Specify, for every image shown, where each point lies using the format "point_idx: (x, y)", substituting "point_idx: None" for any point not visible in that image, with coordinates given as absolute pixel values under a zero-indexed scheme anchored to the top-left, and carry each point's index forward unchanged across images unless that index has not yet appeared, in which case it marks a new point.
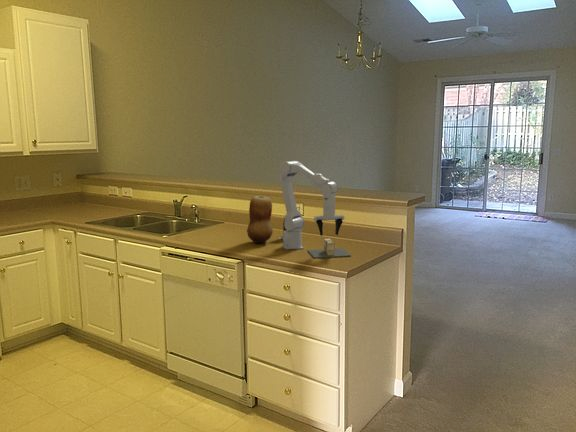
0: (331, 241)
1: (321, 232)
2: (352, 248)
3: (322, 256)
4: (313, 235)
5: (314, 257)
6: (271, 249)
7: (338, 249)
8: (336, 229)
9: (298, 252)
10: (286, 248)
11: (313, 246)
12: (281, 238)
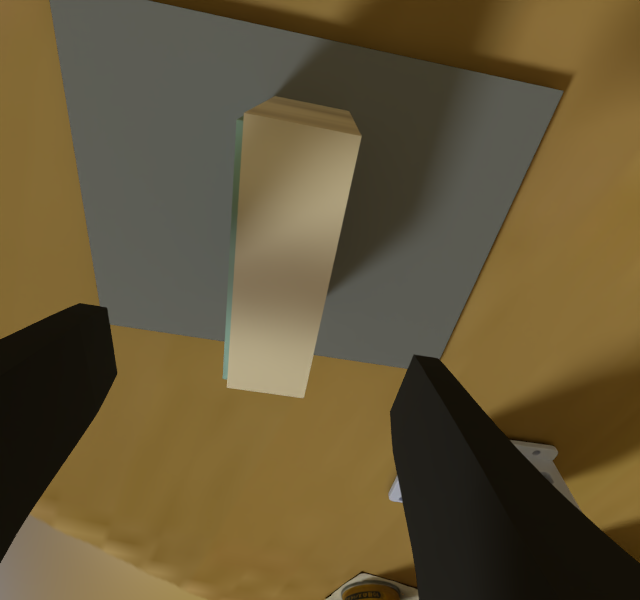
0: (259, 232)
1: (464, 400)
2: (8, 317)
3: (447, 83)
4: (220, 594)
5: (555, 90)
6: (628, 473)
7: (155, 300)
8: (31, 426)
9: (523, 358)
10: (550, 451)
11: (317, 451)
12: (410, 596)
